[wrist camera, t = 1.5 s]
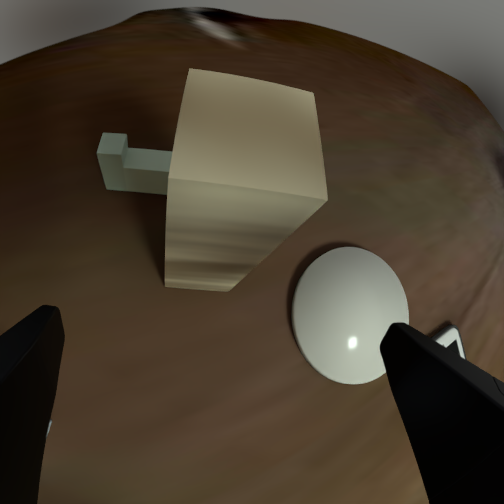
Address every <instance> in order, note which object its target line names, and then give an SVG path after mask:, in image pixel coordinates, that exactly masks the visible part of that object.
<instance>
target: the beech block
mask: <svg viewBox="0 0 504 504" xmlns="http://www.w3.org/2000/svg"><path fill="white" fill-rule="evenodd" d="M327 200H328V197H327V188H326V179H325V170H324V162H323V154H322V147H321V139H320V132H319V125H318V119H317V112H316V106H315V100H314V94H313V93H311V92H308V91H304V90H300V89H296V88H292V87H288V86H284V85H280V84H276V83H271V82H267V81H262V80H257V79H252V78H247V77H242V76H236V75H231V74H225V73H218V72H212V71H205V70H197V69H189V73H188V77H187V81H186V86H185V90H184V95H183V100H182V104H181V109H180V114H179V119H178V124H177V130H176V135H175V141H174V146H173V152H172V158H171V164H170V170H169V177H168V191H167V209H166V236H165V287H174V288H186V289H199V290H213V291H227V292H228V291H230V290H231V289H232V288H233V287H234V286H235V285H236V284H237V283H238V282H239V281H241V280H242V279H243V278H244V277H245V276H246V275H247V274H248V273H249V272H250V271H252V270H253V269H254V268H255V267H256V266H257V265H258V264H259V263H260V262H261V261H262V260H264V259H265V258H266V257H267V256H268V255H269V254H270V253H271V252H272V251H273V250H274V249H276V248H277V247H278V246H279V245H280V244H281V243H282V242H283V241H284V240H285V239H286V238H287V237H289V236H290V235H291V234H292V233H293V232H294V231H295V230H296V229H297V228H298V227H299V226H300V225H302V224H303V223H304V222H305V221H306V220H307V219H308V218H309V217H310V216H311V215H312V214H313V213H315V212H316V211H317V210H318V209H319V208H320V207H321V206H322V205H323V204H324V203H325V202H326V201H327Z"/></svg>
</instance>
